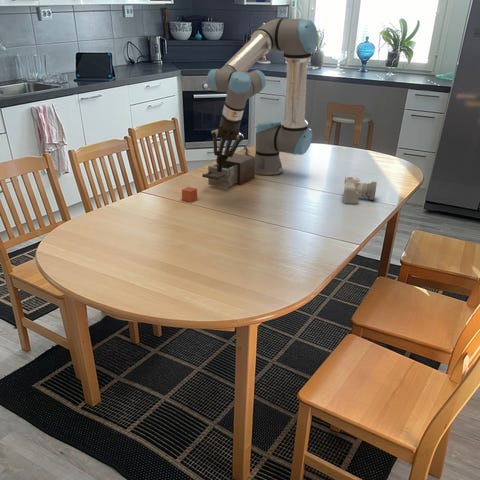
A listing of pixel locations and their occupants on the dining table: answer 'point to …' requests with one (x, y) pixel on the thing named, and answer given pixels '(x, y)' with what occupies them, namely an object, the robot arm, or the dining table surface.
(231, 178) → the grey drawer
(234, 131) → the robot arm
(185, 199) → the block
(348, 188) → the digital camera
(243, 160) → the cabinet
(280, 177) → the dining table surface
